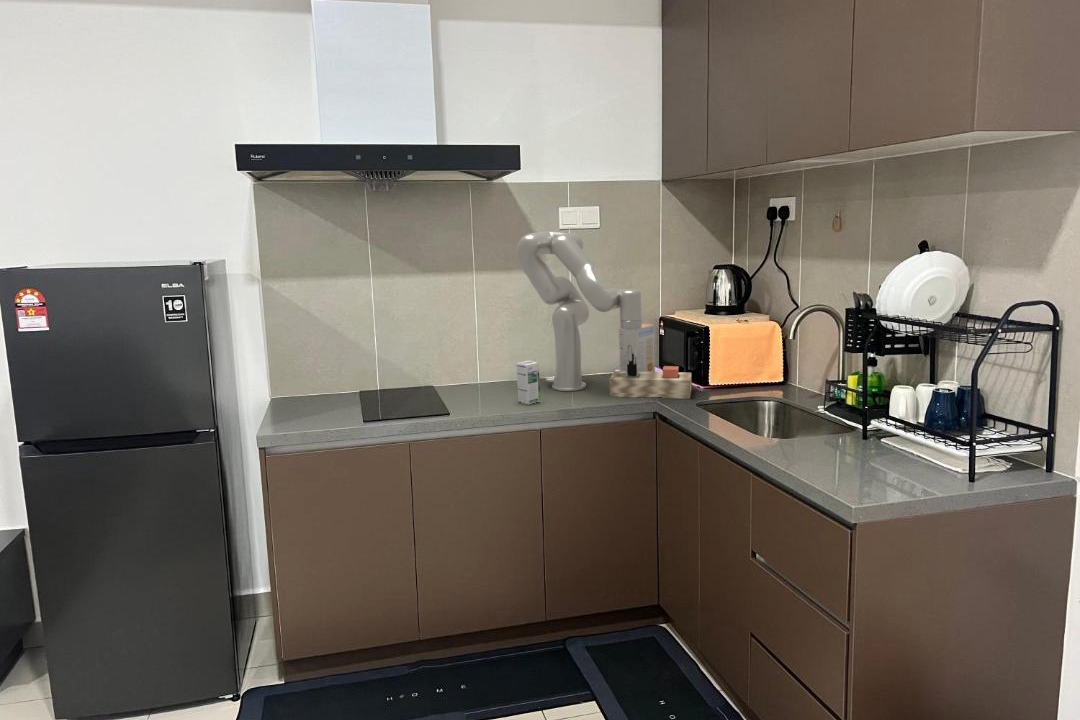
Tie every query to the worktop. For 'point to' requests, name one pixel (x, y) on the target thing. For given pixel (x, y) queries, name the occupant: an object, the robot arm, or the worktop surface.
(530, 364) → the syrup box
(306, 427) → the worktop surface
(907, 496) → the worktop surface
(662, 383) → the beige woven basket
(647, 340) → the cracker box
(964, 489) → the worktop surface
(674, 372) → the red cube
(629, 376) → the grey cube
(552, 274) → the robot arm
